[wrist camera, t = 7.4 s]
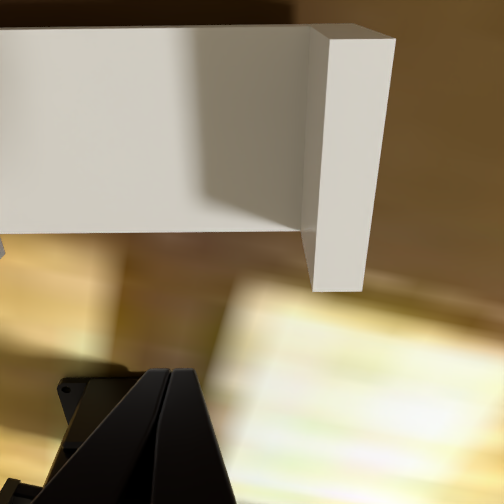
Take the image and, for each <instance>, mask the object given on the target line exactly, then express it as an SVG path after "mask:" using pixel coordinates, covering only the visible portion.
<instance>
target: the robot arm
mask: <svg viewBox="0 0 504 504" xmlns="http://www.w3.org/2000/svg"><path fill="white" fill-rule="evenodd" d="M57 391H58V395H59V398H60V401H61V404H62V407H63V410H64V413H65V417H66V420H67V423H68V428H67V430H66V433H65V435H64V438H63V440H62V442H61V445H60V447H59V450H58V452H57V454H56V457H55V459H54V462H53V464H52V466H51V469H50V471H49V473H48V476H47V478H46V481H45V483H44V485H43V487H39V486H34V485H30V484H25V483H20V482H21V480H17V479H13V478H8V479H7V481H6V483H5V484H4V486H3V488H2V489H1V491H0V504H237V503H236V499H235V496H234V493H233V490H232V486H231V483H230V480H229V477H228V474H227V470H226V467H225V464H224V461H223V457H222V454H221V451H220V448H219V444H218V441H217V438H216V435H215V432H214V428H213V425H212V422H211V419H210V415H209V412H208V409H207V406H206V403H205V399H204V396H203V393H202V390H201V386H200V383H199V380H198V377H197V374H196V371H195V370H194V369H193V368H176V369H173V371H171V370H170V369H168V368H154V369H149V370H147V371H146V372H145V373H144V375H143V376H142V377H99V378H63V379H61V380H60V382H59V384H58V386H57Z"/></svg>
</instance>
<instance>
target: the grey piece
mask: <svg viewBox="0 0 504 504" xmlns="http://www.w3.org/2000/svg"><path fill="white" fill-rule="evenodd" d="M4 254H5V251H4V248H3V245H2V242H1V239H0V259H1V258H2V257H3V256H4Z"/></svg>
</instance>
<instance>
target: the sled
mask: <svg viewBox="0 0 504 504" xmlns="http://www.w3.org/2000/svg"><path fill="white" fill-rule="evenodd" d="M395 42H396V39H395V38H393V37H390V36H387V35H384V34H381V33H379V32H376V31H373V30H370V29H368V28H365V27H362V26H359V25H356V24H354V23H353V24H268V25H183V26H98V27H13V28H0V234H29V233H137V232H246V231H301V236H302V241H303V246H304V251H305V256H306V261H307V266H308V271H309V276H310V281H311V286H312V291H313V292H345V291H362V286H363V279H364V271H365V264H366V257H367V249H368V242H369V234H370V227H371V220H372V212H373V205H374V197H375V190H376V183H377V175H378V168H379V160H380V153H381V146H382V138H383V131H384V123H385V116H386V109H387V101H388V94H389V86H390V79H391V72H392V64H393V57H394V49H395Z"/></svg>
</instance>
